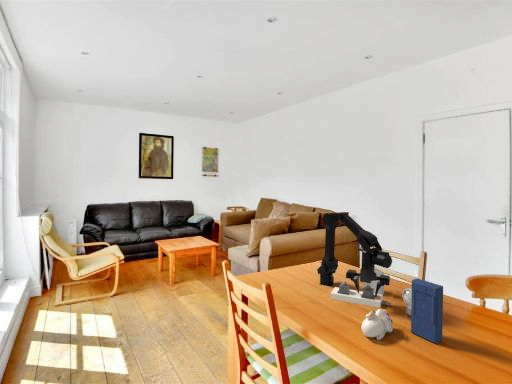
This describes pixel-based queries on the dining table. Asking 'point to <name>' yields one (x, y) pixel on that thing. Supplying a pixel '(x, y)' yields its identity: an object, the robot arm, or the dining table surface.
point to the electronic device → (427, 310)
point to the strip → (358, 298)
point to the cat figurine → (377, 324)
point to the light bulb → (407, 299)
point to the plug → (368, 292)
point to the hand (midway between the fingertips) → (367, 294)
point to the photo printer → (375, 283)
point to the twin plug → (344, 288)
